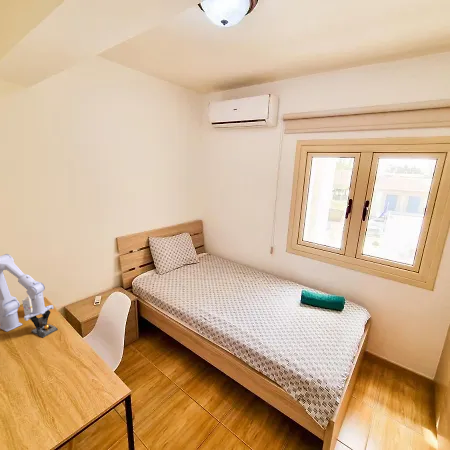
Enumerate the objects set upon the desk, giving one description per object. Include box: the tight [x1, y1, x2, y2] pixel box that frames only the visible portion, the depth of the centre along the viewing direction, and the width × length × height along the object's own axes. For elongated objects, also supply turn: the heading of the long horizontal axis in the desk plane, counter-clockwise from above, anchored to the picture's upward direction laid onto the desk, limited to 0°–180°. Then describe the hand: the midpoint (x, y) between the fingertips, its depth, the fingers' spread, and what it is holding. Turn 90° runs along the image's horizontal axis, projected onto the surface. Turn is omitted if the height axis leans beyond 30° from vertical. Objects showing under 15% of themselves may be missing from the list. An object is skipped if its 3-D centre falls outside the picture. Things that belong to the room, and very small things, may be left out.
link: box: [35, 316, 57, 335], centre depth 142 cm, size 10×6×6 cm, turn 65°
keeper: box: [30, 323, 59, 338], centre depth 143 cm, size 11×8×4 cm
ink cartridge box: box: [21, 295, 33, 317], centre depth 160 cm, size 9×5×15 cm, turn 179°
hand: (41, 325), depth 144 cm, fingers closed on link, 4 cm apart
